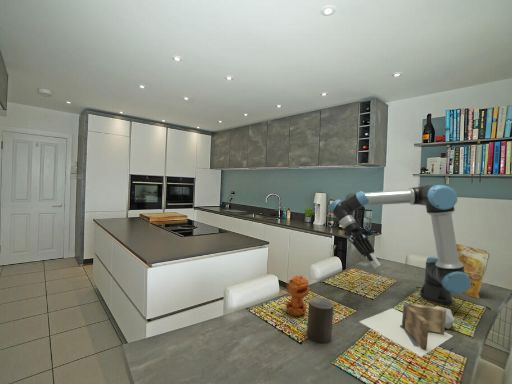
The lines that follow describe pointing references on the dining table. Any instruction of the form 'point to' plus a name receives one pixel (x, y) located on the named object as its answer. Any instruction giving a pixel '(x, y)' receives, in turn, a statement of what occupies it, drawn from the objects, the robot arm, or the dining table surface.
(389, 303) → the dining table surface
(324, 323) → the pillar candle
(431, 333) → the board
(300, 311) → the orange carved figurine
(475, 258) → the pancake mix bag
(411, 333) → the fence gate
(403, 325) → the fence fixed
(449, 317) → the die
